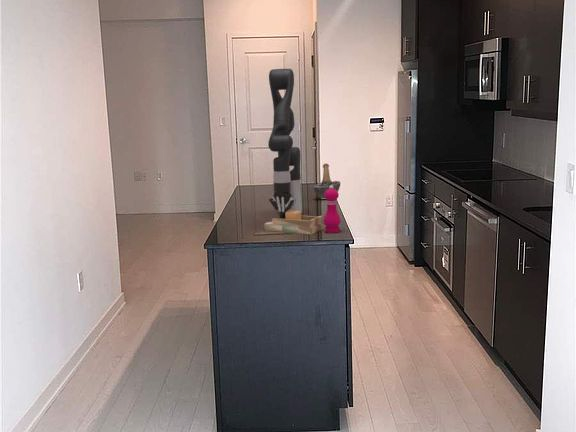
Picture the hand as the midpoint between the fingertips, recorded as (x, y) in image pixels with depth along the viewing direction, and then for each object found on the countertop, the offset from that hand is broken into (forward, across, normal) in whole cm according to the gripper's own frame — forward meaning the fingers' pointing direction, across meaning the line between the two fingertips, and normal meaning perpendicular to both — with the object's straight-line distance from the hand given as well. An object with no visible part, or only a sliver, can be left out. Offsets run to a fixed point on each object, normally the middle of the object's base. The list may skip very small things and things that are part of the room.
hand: (283, 219), depth 272 cm
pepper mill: (+4, -22, -3) cm, 23 cm away
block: (+1, -5, 0) cm, 5 cm away
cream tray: (+4, -5, 0) cm, 6 cm away
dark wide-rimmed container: (+4, +17, -80) cm, 82 cm away
